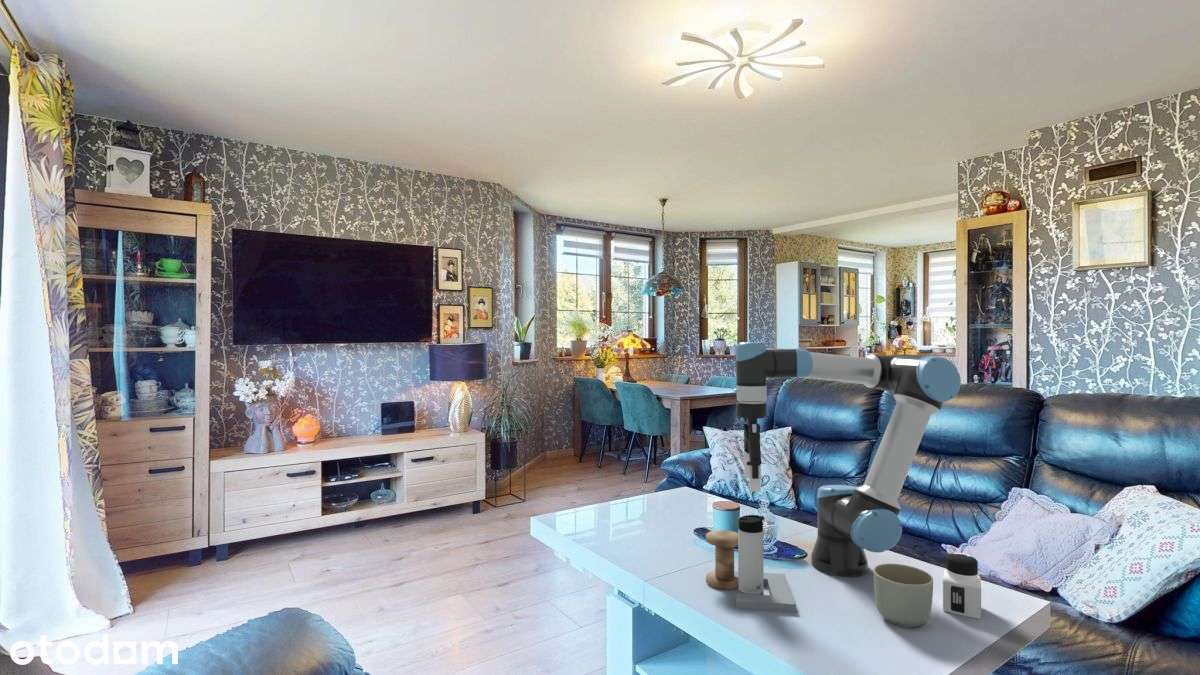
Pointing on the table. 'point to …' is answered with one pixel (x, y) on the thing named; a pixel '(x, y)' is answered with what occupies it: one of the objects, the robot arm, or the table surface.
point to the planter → (903, 594)
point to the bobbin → (723, 559)
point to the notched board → (775, 601)
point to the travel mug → (750, 554)
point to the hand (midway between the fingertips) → (752, 484)
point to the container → (962, 586)
